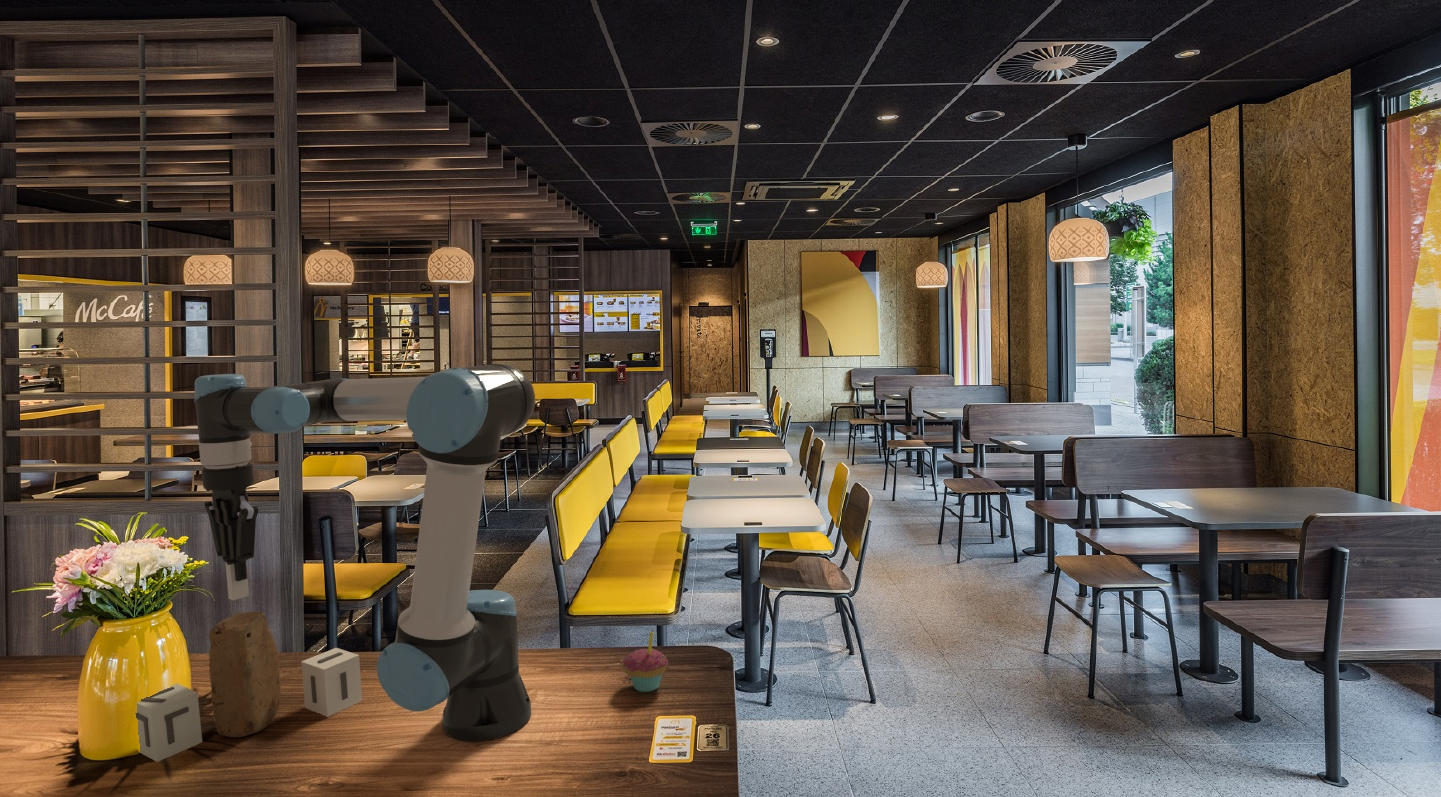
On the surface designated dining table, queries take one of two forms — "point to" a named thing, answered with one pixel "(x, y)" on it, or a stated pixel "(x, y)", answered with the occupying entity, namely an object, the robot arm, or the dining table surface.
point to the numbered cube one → (331, 681)
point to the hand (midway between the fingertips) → (238, 597)
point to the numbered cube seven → (168, 722)
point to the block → (243, 674)
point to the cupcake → (645, 667)
